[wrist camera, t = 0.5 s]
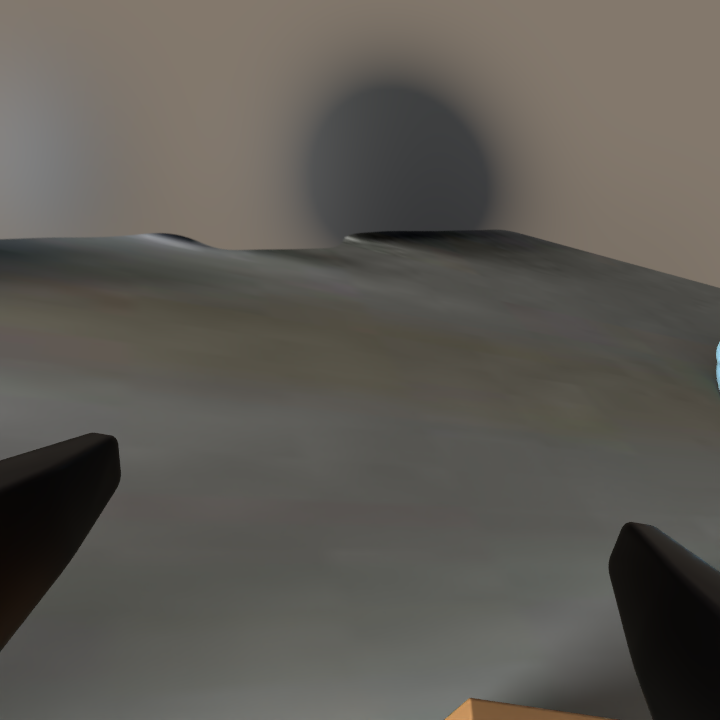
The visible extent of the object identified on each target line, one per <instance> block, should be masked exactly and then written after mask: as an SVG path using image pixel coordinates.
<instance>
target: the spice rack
mask: <svg viewBox="0 0 720 720" xmlns="http://www.w3.org/2000/svg"><path fill="white" fill-rule="evenodd" d="M444 720H618V719H611V718H604V717H598V716H591V715H584V714H577V713H570V712H563V711H556V710H550V709H543V708H536V707H529V706H522V705H515V704H509V703H502V702H495V701H488V700H481V699H474V698H469V699H468V700H466V701H465V702H464V703H463V704H462V705H461V706H460V707H458V708H457V709H456V710H455V711H454V712H453V713H451V714H450V715H449V716H448V717H447V718H446V719H444Z"/></svg>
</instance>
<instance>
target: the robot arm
mask: <svg viewBox="0 0 720 720" xmlns="http://www.w3.org/2000/svg"><path fill="white" fill-rule="evenodd" d="M120 477H121V470H120V459H119V448H118V442H117V440H116V438H115V437H113V436H111V435H105V434H99V433H89V434H86V435H82V436H79V437H76V438H72V439H69V440H66V441H63V442H59V443H56V444H53V445H50V446H46V447H43V448H40V449H36V450H33V451H30V452H27V453H23V454H20V455H17V456H14V457H10V458H7V459H4V460H1V461H0V652H1V650H2V649H3V648H4V646H5V645H6V644H7V643H8V641H9V640H10V639H11V637H12V636H13V635H14V634H15V632H16V631H17V630H18V628H19V627H20V626H21V624H22V623H23V622H24V621H25V619H26V618H27V617H28V615H29V614H30V613H31V612H32V610H33V609H34V608H35V606H36V605H37V604H38V603H39V601H40V600H41V599H42V597H43V596H44V595H45V594H46V592H47V591H48V590H49V588H50V587H51V586H52V585H53V583H54V582H55V581H56V579H57V578H58V577H59V576H60V574H61V573H62V572H63V570H64V569H65V567H66V566H67V565H68V563H69V562H70V561H71V559H72V558H73V556H74V555H75V553H76V552H77V550H78V549H79V547H80V546H81V544H82V543H83V541H84V539H85V538H86V536H87V535H88V533H89V531H90V530H91V528H92V527H93V525H94V524H95V522H96V520H97V519H98V517H99V516H100V514H101V513H102V511H103V509H104V508H105V506H106V505H107V503H108V501H109V500H110V498H111V497H112V495H113V494H114V492H115V490H116V489H117V487H118V485H119V482H120ZM609 574H610V579H611V582H612V586H613V590H614V594H615V598H616V602H617V606H618V610H619V613H620V617H621V621H622V625H623V629H624V633H625V637H626V641H627V644H628V648H629V652H630V655H631V659H632V662H633V666H634V669H635V672H636V675H637V678H638V680H639V683H640V686H641V689H642V692H643V694H644V697H645V700H646V703H647V705H648V708H649V711H650V713H651V716H652V719H653V720H720V572H719V571H718V570H716V569H715V568H713V567H712V566H710V565H709V564H708V563H706V562H705V561H703V560H702V559H700V558H699V557H698V556H696V555H695V554H693V553H692V552H690V551H689V550H688V549H686V548H685V547H683V546H682V545H680V544H679V543H678V542H676V541H675V540H673V539H672V538H670V537H669V536H668V535H666V534H665V533H663V532H662V531H660V530H659V529H658V528H656V527H654V526H651V525H646V524H640V523H634V522H629V523H626V524H625V525H624V526H623V527H622V529H621V531H620V534H619V536H618V539H617V541H616V544H615V546H614V549H613V551H612V554H611V556H610V559H609Z"/></svg>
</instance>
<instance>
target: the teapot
mask: <svg viewBox="0 0 720 720" xmlns="http://www.w3.org/2000/svg"><path fill="white" fill-rule="evenodd" d="M716 358H717V363H718V364H717V368H716V374H717V381H718V386H719V390H720V342H719V344H718V347H717V351H716Z"/></svg>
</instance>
